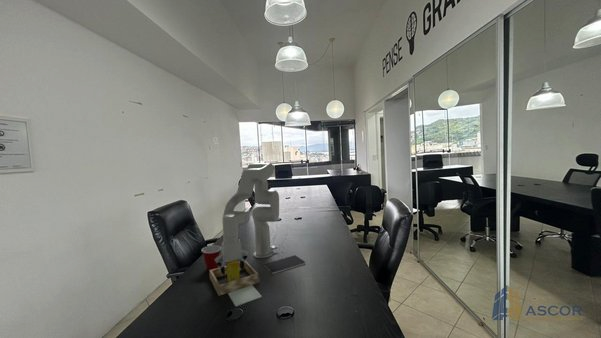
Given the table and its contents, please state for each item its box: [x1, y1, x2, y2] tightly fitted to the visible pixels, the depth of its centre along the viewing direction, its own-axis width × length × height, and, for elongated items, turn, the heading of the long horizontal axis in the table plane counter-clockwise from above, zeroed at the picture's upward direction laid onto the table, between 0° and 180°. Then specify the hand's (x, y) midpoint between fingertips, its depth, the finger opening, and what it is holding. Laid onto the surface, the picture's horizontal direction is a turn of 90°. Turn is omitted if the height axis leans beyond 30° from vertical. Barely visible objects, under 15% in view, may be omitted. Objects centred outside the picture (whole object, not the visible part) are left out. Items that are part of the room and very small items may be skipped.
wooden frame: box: [208, 260, 260, 297], centre depth 127 cm, size 20×20×4 cm
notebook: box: [263, 254, 306, 275], centre depth 142 cm, size 13×2×21 cm
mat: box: [227, 284, 262, 307], centre depth 112 cm, size 12×12×1 cm
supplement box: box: [225, 259, 241, 283], centre depth 126 cm, size 6×6×11 cm
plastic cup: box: [201, 244, 221, 271], centre depth 142 cm, size 11×11×12 cm
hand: (232, 271), depth 126 cm, fingers open, 9 cm apart
